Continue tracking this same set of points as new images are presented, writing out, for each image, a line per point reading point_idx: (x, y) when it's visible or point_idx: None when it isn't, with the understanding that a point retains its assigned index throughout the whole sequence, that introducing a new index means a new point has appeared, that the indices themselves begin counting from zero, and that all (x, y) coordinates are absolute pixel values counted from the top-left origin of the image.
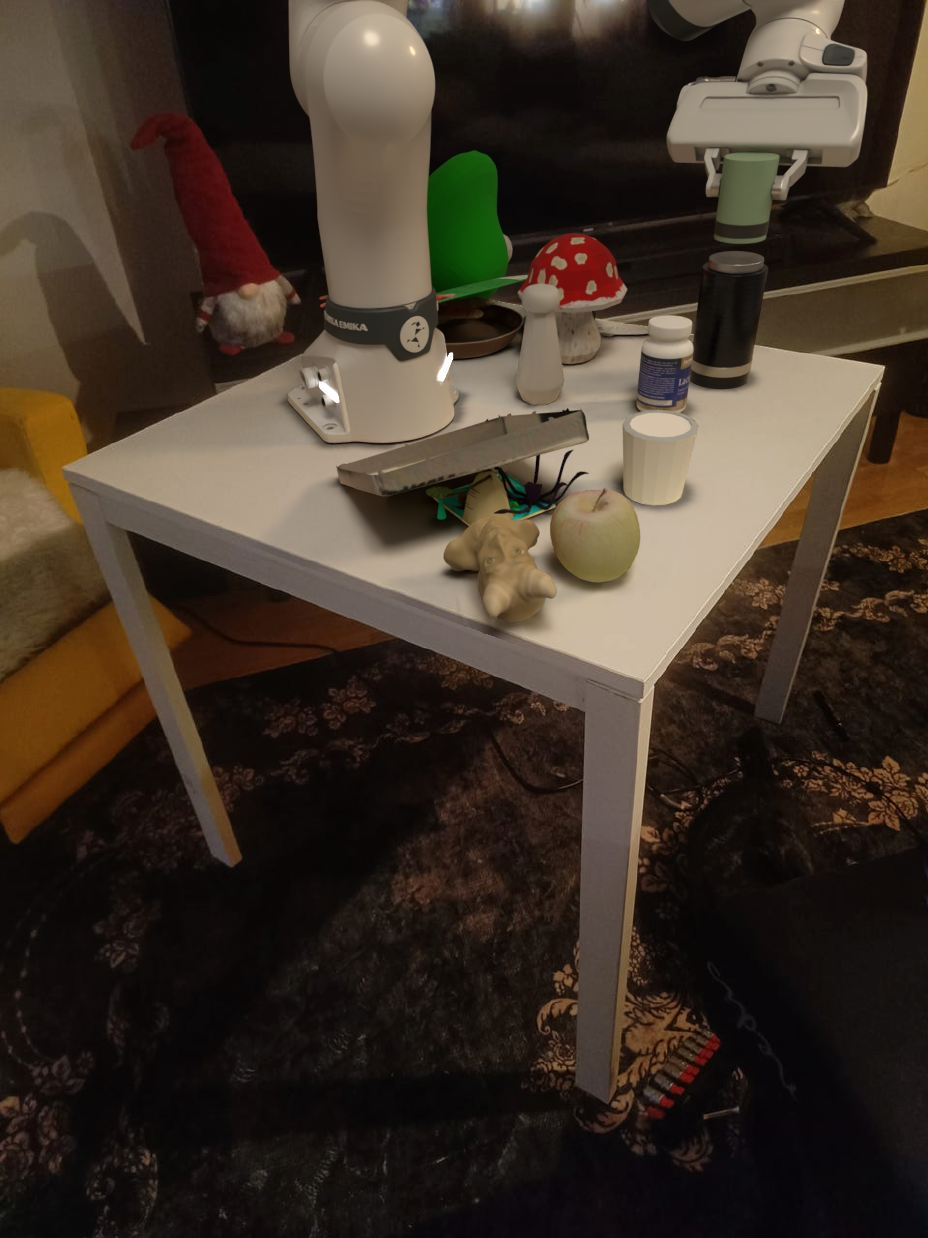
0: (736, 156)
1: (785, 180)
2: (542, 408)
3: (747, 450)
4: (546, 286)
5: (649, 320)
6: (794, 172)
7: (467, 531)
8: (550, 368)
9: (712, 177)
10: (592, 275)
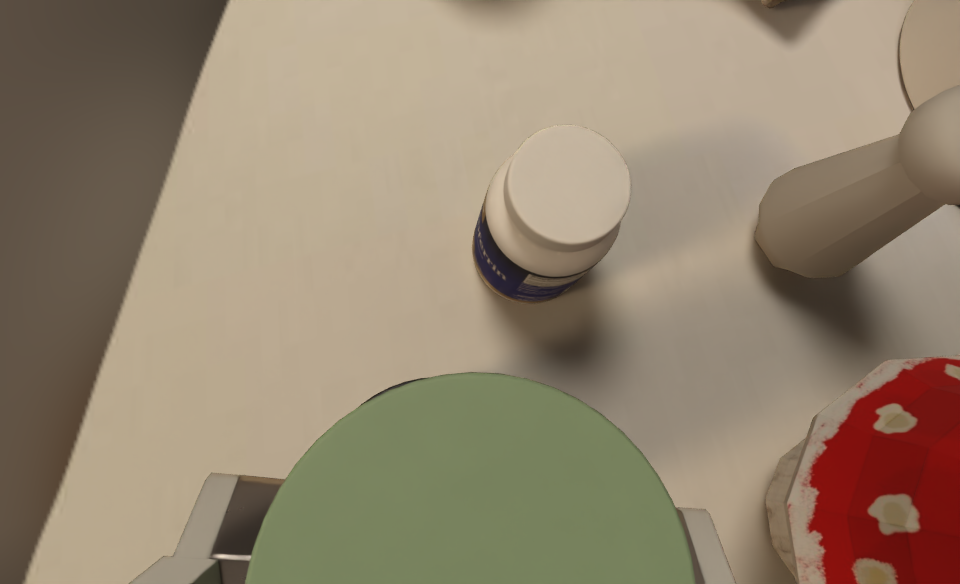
0: (597, 569)
1: (207, 525)
2: (763, 188)
3: (320, 97)
4: None
5: (629, 177)
6: (135, 580)
7: None
8: (802, 170)
9: (701, 558)
10: (923, 432)
